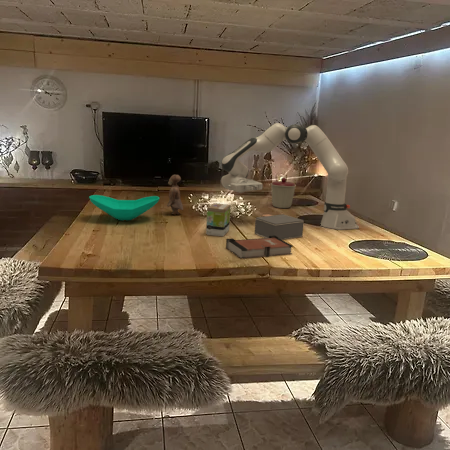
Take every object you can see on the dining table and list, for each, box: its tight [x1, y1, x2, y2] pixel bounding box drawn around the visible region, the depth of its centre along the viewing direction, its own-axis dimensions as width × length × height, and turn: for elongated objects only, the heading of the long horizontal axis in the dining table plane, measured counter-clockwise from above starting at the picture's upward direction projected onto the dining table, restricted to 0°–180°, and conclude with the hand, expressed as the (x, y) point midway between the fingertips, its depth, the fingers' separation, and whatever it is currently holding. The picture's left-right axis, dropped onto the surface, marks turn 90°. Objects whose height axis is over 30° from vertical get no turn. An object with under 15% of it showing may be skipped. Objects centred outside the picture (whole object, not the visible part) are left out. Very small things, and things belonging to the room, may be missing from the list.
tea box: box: [205, 202, 232, 237], centre depth 234 cm, size 15×10×15 cm
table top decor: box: [88, 194, 160, 221], centre depth 254 cm, size 40×28×13 cm
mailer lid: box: [255, 213, 305, 225], centre depth 235 cm, size 20×20×1 cm
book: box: [225, 235, 294, 259], centre depth 205 cm, size 26×18×5 cm
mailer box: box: [254, 218, 305, 241], centre depth 235 cm, size 20×16×8 cm
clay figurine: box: [166, 174, 184, 215], centre depth 272 cm, size 13×10×25 cm
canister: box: [270, 177, 297, 209], centre depth 312 cm, size 18×18×21 cm
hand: (255, 188), depth 248 cm, fingers closed
